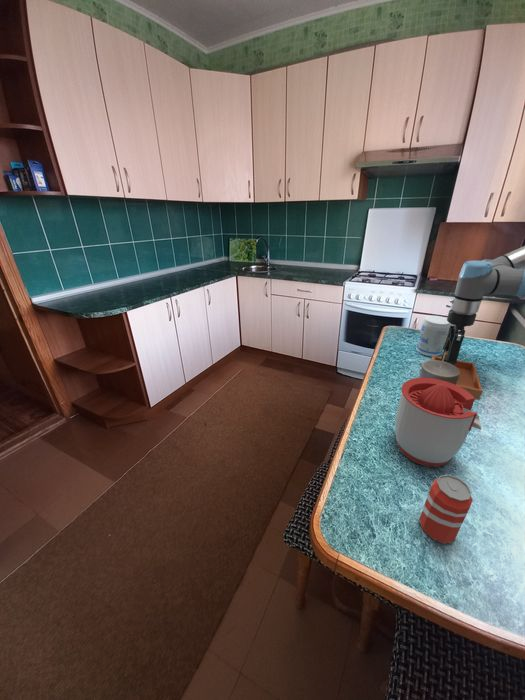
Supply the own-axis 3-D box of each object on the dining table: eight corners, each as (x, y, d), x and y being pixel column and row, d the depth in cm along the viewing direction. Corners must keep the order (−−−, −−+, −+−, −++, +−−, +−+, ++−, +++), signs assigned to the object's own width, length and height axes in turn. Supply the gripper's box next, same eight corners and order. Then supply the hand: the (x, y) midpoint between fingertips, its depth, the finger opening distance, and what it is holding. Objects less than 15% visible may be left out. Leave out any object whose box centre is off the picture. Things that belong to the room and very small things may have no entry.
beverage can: (446, 515, 59) (464, 473, 53) (460, 548, 53) (482, 506, 48) (415, 510, 60) (429, 470, 54) (425, 543, 54) (442, 501, 48)
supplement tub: (410, 349, 124) (418, 316, 118) (427, 345, 127) (436, 313, 120) (428, 359, 116) (438, 325, 110) (446, 355, 119) (457, 321, 112)
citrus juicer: (467, 488, 64) (499, 417, 55) (384, 459, 72) (400, 392, 63) (464, 442, 76) (489, 378, 67) (393, 421, 84) (407, 361, 75)
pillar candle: (450, 404, 90) (465, 362, 83) (442, 420, 84) (457, 376, 77) (417, 392, 96) (428, 352, 89) (407, 406, 90) (418, 364, 83)
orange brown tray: (471, 370, 108) (474, 363, 106) (479, 399, 92) (482, 391, 91) (430, 363, 113) (432, 355, 112) (431, 389, 98) (433, 381, 96)
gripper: (447, 300, 103) (432, 357, 113) (451, 320, 86) (432, 384, 96) (473, 303, 100) (454, 361, 110) (481, 324, 83) (458, 389, 93)
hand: (444, 371), depth 103 cm, fingers closed on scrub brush, 8 cm apart
